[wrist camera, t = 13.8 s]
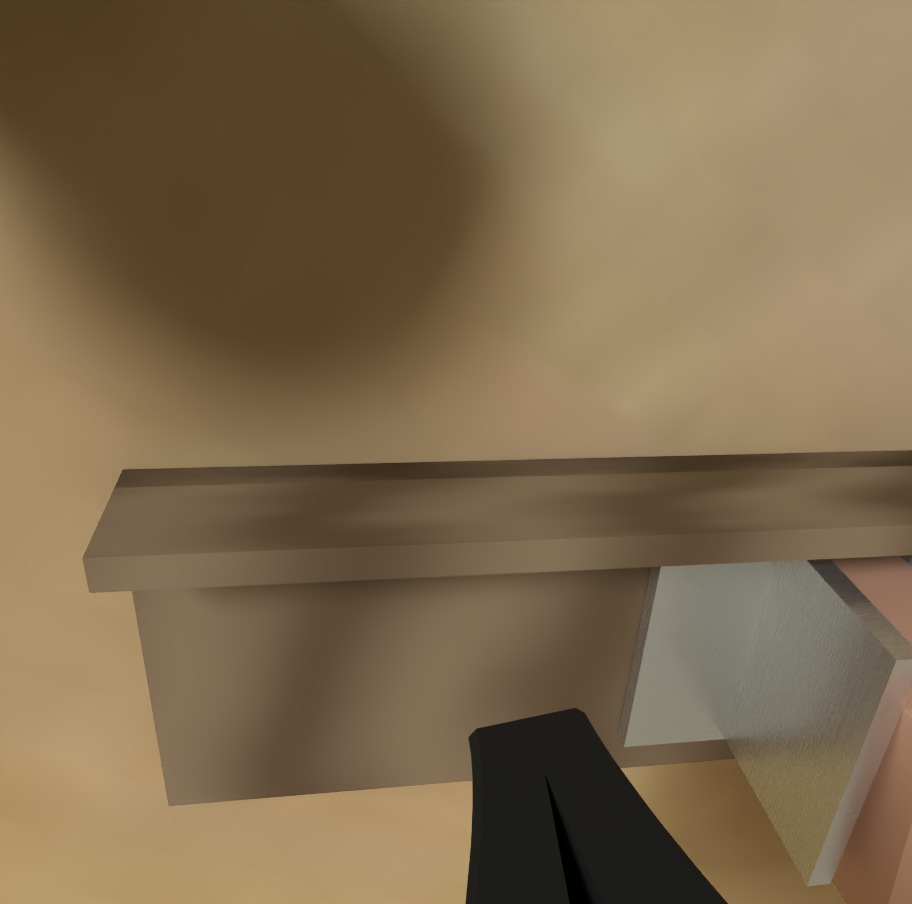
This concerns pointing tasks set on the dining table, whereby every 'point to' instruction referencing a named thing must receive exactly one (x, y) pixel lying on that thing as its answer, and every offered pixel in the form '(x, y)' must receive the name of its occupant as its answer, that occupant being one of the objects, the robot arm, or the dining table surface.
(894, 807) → the terracotta book
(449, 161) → the dining table surface
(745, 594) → the bookend
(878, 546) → the shelf
